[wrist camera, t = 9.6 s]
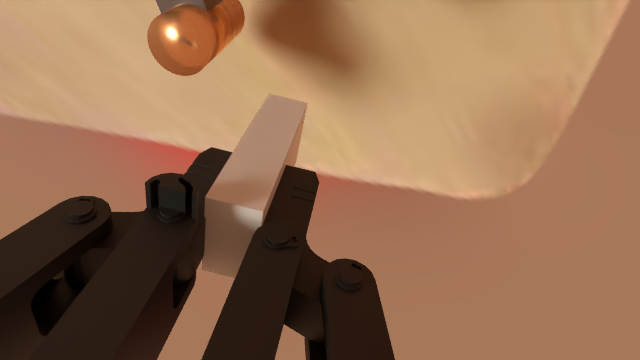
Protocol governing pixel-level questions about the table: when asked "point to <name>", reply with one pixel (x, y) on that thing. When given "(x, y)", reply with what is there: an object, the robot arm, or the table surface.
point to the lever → (193, 32)
